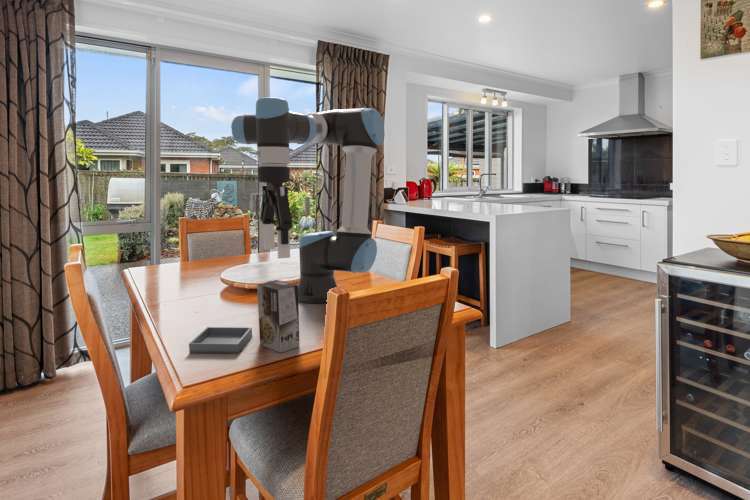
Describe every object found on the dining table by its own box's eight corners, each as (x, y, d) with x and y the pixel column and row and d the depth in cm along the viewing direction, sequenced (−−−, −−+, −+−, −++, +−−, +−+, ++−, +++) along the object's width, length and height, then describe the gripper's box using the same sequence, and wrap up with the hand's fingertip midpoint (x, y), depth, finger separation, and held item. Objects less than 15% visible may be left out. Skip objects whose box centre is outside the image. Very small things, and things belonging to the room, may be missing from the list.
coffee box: (300, 346, 117) (299, 284, 114) (280, 353, 112) (278, 289, 109) (279, 337, 123) (277, 278, 120) (258, 344, 118) (256, 283, 115)
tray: (207, 335, 124) (207, 327, 123) (252, 336, 124) (251, 327, 123) (189, 353, 112) (188, 343, 112) (238, 353, 112) (238, 344, 111)
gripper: (246, 166, 119) (249, 246, 122) (271, 164, 97) (274, 263, 101) (275, 166, 122) (277, 245, 126) (305, 165, 100) (307, 260, 104)
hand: (276, 253), depth 113 cm, fingers open, 13 cm apart
